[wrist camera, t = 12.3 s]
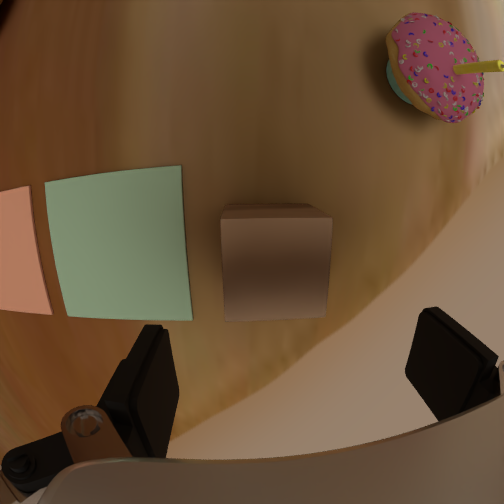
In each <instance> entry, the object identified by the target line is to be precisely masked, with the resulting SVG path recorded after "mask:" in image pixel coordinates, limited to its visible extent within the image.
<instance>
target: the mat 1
mask: <svg viewBox="0 0 504 504" xmlns="http://www.w3.org/2000/svg"><path fill="white" fill-rule="evenodd" d="M0 309H2V310H10V311H19V312H28V313H38V314H49V315H53V314H54V313H53V309H52V306H51V302H50V298H49V294H48V291H47V286H46V282H45V278H44V274H43V269H42V264H41V259H40V254H39V248H38V243H37V236H36V230H35V223H34V215H33V206H32V195H31V185H30V186H25V187H21V188H16V189H12V190H7V191H3V192H0Z"/></svg>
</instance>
